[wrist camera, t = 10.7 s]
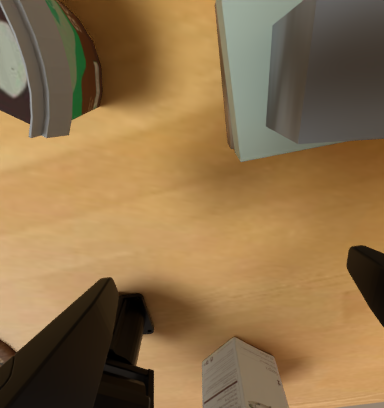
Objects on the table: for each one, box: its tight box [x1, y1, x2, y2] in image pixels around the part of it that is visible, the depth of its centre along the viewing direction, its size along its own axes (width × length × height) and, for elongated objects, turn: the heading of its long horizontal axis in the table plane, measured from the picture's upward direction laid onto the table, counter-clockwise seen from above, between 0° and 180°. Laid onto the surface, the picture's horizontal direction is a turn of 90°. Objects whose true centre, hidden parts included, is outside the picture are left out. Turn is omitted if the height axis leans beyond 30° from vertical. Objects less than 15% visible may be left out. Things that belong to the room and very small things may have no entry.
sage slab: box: [216, 0, 346, 162], centre depth 14 cm, size 9×9×2 cm
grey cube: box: [266, 0, 384, 144], centre depth 11 cm, size 5×5×5 cm
